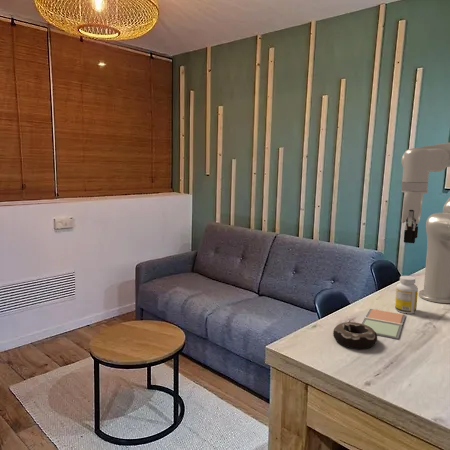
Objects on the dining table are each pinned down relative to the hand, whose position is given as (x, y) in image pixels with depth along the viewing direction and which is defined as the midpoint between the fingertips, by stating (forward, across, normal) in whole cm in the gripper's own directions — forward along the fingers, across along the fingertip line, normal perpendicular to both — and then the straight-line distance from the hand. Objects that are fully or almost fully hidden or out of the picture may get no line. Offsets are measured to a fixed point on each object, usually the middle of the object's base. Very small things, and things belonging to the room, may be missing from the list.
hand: (410, 240), depth 128 cm
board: (+24, +15, -5) cm, 29 cm away
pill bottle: (+24, 0, 0) cm, 24 cm away
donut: (+25, +32, -10) cm, 42 cm away
